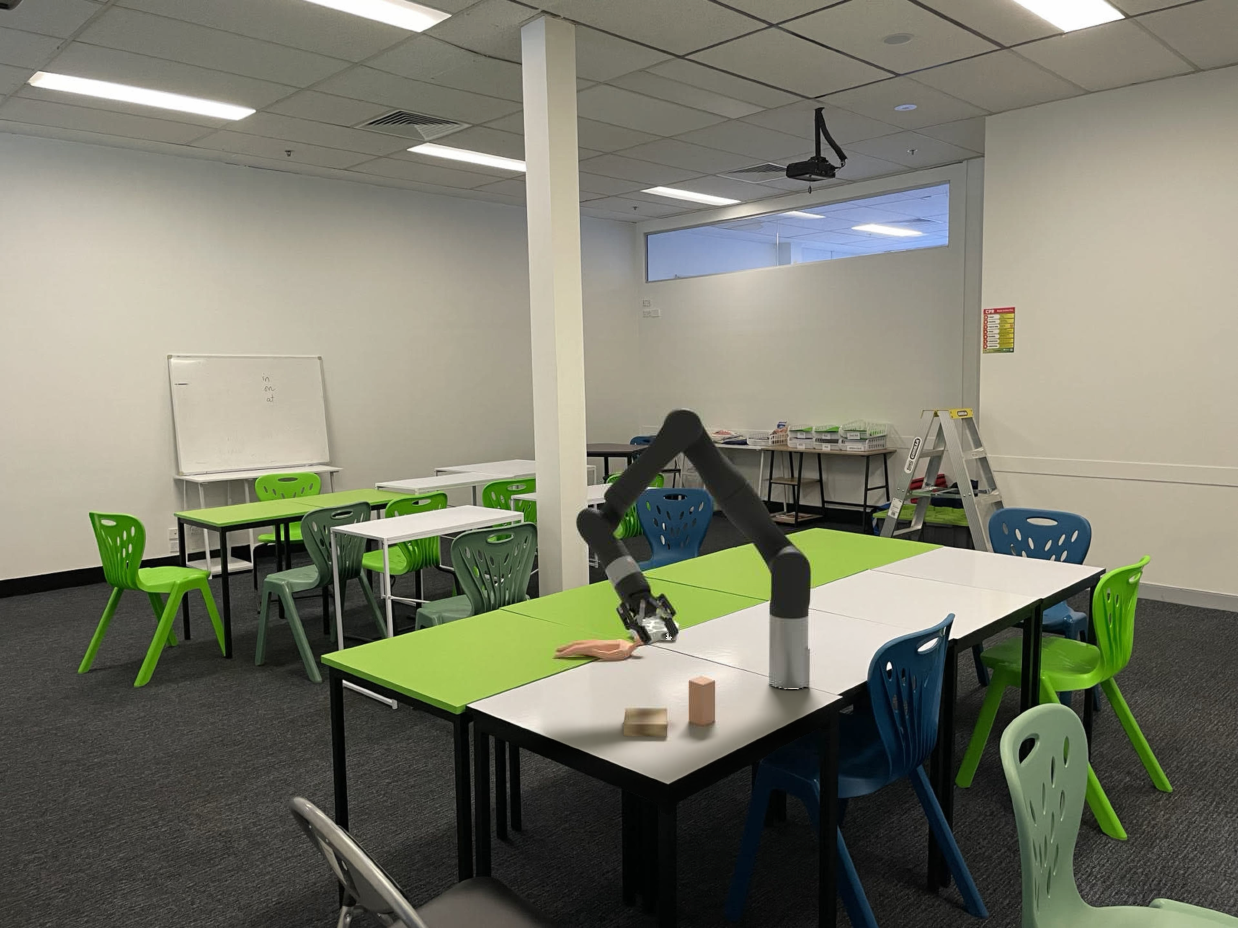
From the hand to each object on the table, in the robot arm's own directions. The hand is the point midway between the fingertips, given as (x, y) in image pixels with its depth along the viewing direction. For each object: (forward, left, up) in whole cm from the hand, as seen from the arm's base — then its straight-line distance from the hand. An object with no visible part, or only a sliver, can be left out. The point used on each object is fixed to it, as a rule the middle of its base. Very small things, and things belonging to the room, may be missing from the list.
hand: (662, 638), depth 194 cm
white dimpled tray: (+3, -58, -16) cm, 60 cm away
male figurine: (+17, -39, -16) cm, 45 cm away
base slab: (+4, +12, -16) cm, 20 cm away
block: (-8, +8, -16) cm, 20 cm away
